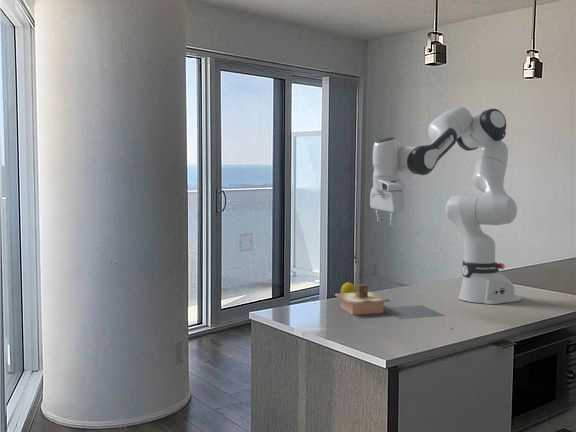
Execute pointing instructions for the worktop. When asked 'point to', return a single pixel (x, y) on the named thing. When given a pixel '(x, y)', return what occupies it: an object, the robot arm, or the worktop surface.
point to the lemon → (348, 288)
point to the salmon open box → (362, 307)
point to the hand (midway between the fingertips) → (386, 223)
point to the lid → (361, 296)
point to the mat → (412, 312)
